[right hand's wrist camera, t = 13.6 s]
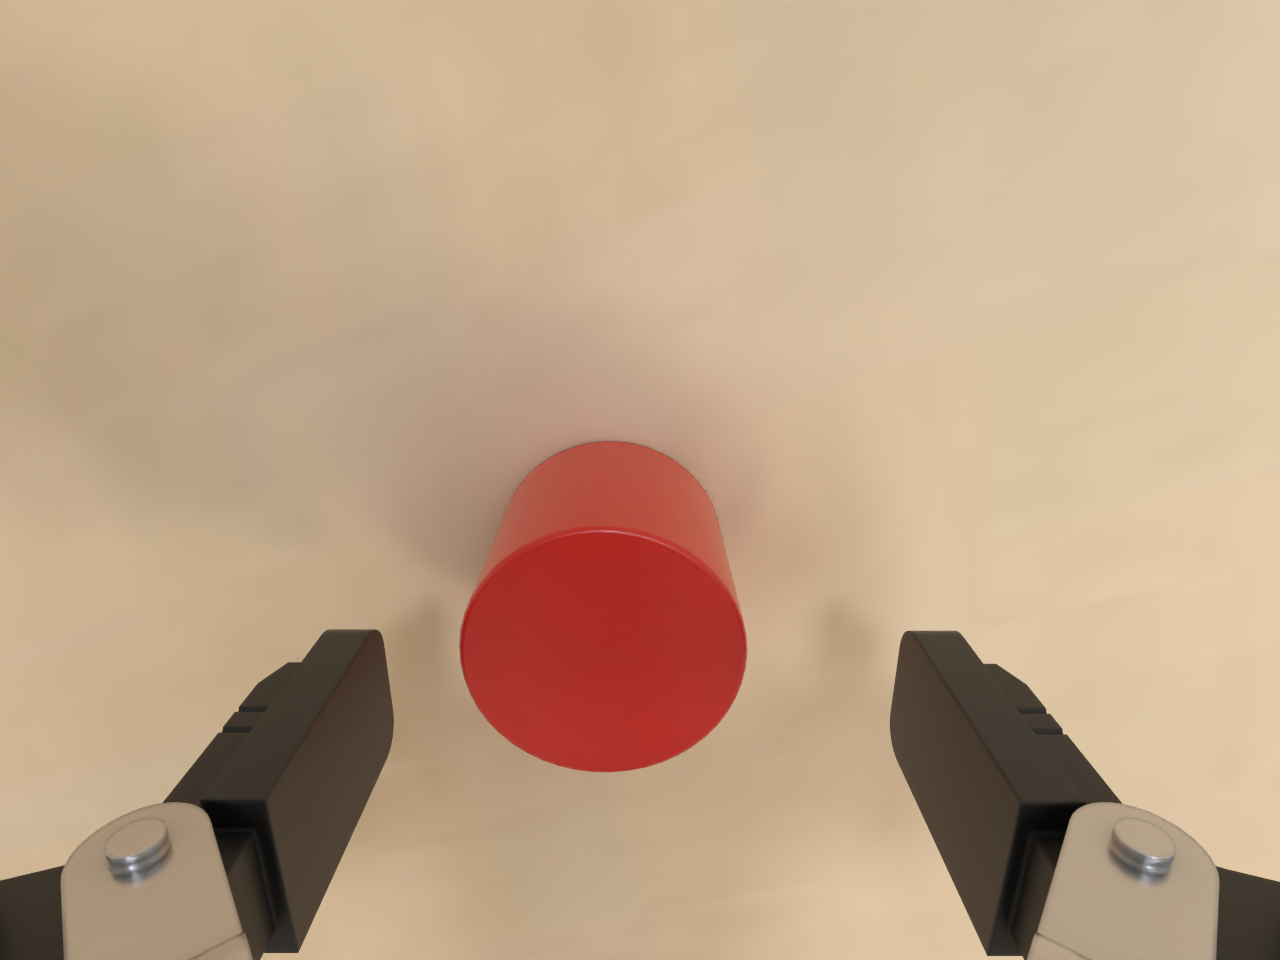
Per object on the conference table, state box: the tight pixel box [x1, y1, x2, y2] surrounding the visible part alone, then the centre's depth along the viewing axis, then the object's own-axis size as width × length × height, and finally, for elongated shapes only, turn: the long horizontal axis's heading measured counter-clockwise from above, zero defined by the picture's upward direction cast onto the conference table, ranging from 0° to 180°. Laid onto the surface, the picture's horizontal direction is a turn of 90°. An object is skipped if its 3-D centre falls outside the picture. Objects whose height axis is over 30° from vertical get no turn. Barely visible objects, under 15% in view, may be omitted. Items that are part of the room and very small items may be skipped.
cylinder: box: [459, 442, 747, 772], centre depth 14 cm, size 4×4×4 cm
